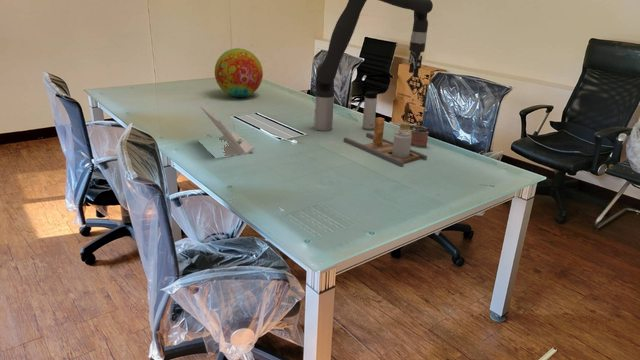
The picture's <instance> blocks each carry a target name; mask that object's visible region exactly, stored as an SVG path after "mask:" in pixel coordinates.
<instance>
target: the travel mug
mask: <svg viewBox="0 0 640 360" xmlns="http://www.w3.org/2000/svg"><path fill="white" fill-rule="evenodd" d="M378 94H379V91H378V90H368V91H365V92H364V100H363V101H364V102H363V103H364V104H363V118H362V127H361V128H362V129H363V130H366V131H374V126H375V118H376V115H377V114H376V111H377V104H378V103H377V102H378Z"/></svg>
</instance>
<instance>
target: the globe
mask: <svg viewBox="0 0 640 360" xmlns="http://www.w3.org/2000/svg"><path fill="white" fill-rule="evenodd" d="M263 77H264V72H263V66H262V63H261V61H260V60H259V58H258V57H257V56H256V55H255V54H254V53H253V52H251V51H250V50H247V49H245V48H240V47H239V48H230V49H228V50H227V51H224V52H223V53H222V54H221V55H219V58H218V59H217V60H216V62H215V66H214V78H215V81H216V84H217V85H218V87H219V88H220V89H221V91H223V92H224V93H226V95H229V96H232V97H234V98H235V97H236V98H244V97H248V96H250V95H252V94H253V93H255V92H256V91H257V90H258V89H259V87H260V86H261V85H262V81H263Z"/></svg>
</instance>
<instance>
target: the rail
mask: <svg viewBox="0 0 640 360" xmlns="http://www.w3.org/2000/svg"><path fill="white" fill-rule="evenodd" d="M365 137H366V138H368V139H371V140H373V137H374V133H370V132H366V133H365ZM382 141H385V142H387V143H390V144H392V145H393V143H394V141H391V140H388V139H385V138H383V140H382ZM343 143H347V144H348V145H351V146H353V147H355V148H357V149H360V150H362V151H363V152H367V153H369V154H371V155H373V156H376V157H377V158H380V159H382V160H385V161H387V162H389V163H392V164H394V165H396V166H399V167H404V165H405V163H404V162H403V161H400V160H398V159H396V158H393V157H391V156H389V155H386V154H384V153H382V152H379V151H377V150H375V149H372V148H370V147H368V146H365V144H363V143H361V142H358V141H356V140H354V139H351V138H349V137H347V136H346V137H343ZM410 152H412V153H415V154H417V155H420V159H419V160H423V161H427V160H428V155H426V154H424V153H421V152H418V151H416V150H413V149H412V148H410Z"/></svg>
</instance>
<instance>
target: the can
mask: <svg viewBox="0 0 640 360" xmlns="http://www.w3.org/2000/svg"><path fill="white" fill-rule="evenodd" d="M410 134H411V133H410V132H409V131H405V130H399V129H398V130H396V131H395V133H394V135H393V152H392V156H395V157H397V158H399V159H404V158H408V157H410V156H409V155H410V149H411V147H412V146H411V139H412V136H411V135H410Z"/></svg>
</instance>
